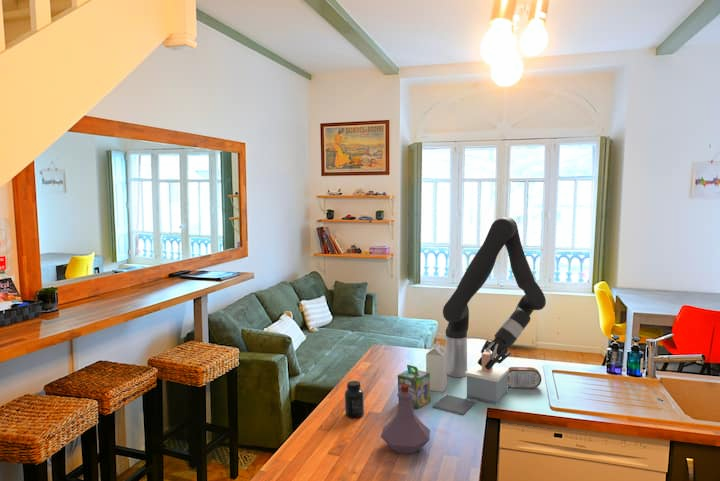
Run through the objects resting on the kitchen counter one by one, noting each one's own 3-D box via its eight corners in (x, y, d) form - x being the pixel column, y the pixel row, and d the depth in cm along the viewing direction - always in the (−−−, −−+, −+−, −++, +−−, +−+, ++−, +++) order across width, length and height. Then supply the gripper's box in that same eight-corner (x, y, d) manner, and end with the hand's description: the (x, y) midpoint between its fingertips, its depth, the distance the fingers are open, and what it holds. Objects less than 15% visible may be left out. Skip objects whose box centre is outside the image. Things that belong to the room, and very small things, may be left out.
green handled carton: (431, 401, 186) (430, 364, 185) (416, 409, 180) (416, 371, 178) (411, 395, 193) (411, 359, 191) (397, 403, 186) (396, 365, 185)
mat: (432, 407, 182) (432, 405, 182) (447, 396, 191) (446, 394, 191) (462, 415, 175) (462, 413, 174) (475, 403, 184) (475, 401, 184)
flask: (439, 456, 148) (439, 393, 146) (387, 463, 144) (386, 399, 142) (421, 431, 164) (421, 373, 162) (374, 437, 160) (373, 378, 158)
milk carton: (426, 390, 197) (425, 344, 196) (430, 383, 204) (429, 339, 202) (443, 392, 195) (443, 346, 193) (447, 385, 201) (446, 341, 200)
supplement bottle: (366, 411, 179) (365, 380, 178) (360, 420, 173) (359, 387, 172) (349, 409, 181) (348, 378, 180) (342, 417, 175) (341, 385, 174)
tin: (540, 386, 198) (540, 366, 198) (542, 389, 195) (542, 369, 195) (502, 386, 200) (502, 366, 199) (504, 389, 197) (504, 369, 196)
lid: (464, 375, 189) (464, 354, 188) (477, 365, 199) (477, 345, 198) (497, 382, 181) (497, 360, 180) (509, 371, 191) (509, 351, 191)
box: (466, 397, 190) (466, 375, 189) (478, 387, 199) (478, 365, 198) (496, 404, 182) (496, 381, 182) (507, 393, 192) (507, 371, 191)
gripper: (492, 322, 197) (467, 355, 195) (514, 331, 184) (487, 366, 181) (503, 333, 200) (478, 366, 197) (526, 343, 186) (499, 378, 183)
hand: (483, 366), depth 189 cm, fingers closed on lid, 4 cm apart
